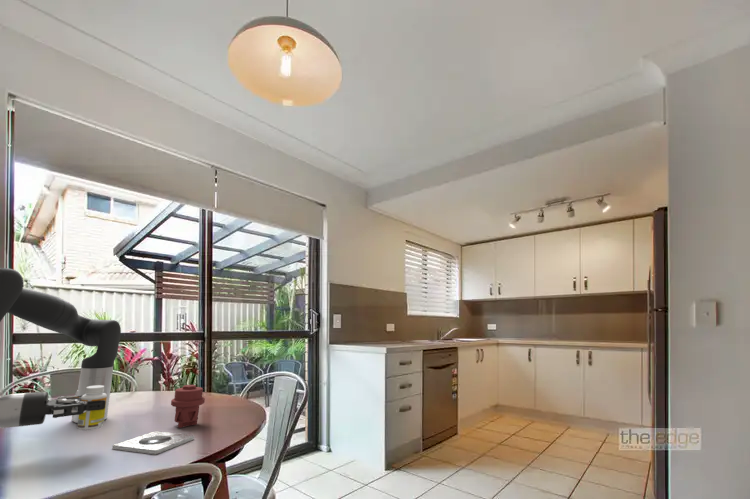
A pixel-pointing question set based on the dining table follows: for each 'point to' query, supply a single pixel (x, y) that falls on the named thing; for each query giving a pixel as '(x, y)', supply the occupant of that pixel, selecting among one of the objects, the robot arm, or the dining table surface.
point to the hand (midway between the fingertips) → (104, 402)
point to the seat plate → (153, 442)
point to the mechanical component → (187, 404)
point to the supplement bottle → (94, 417)
